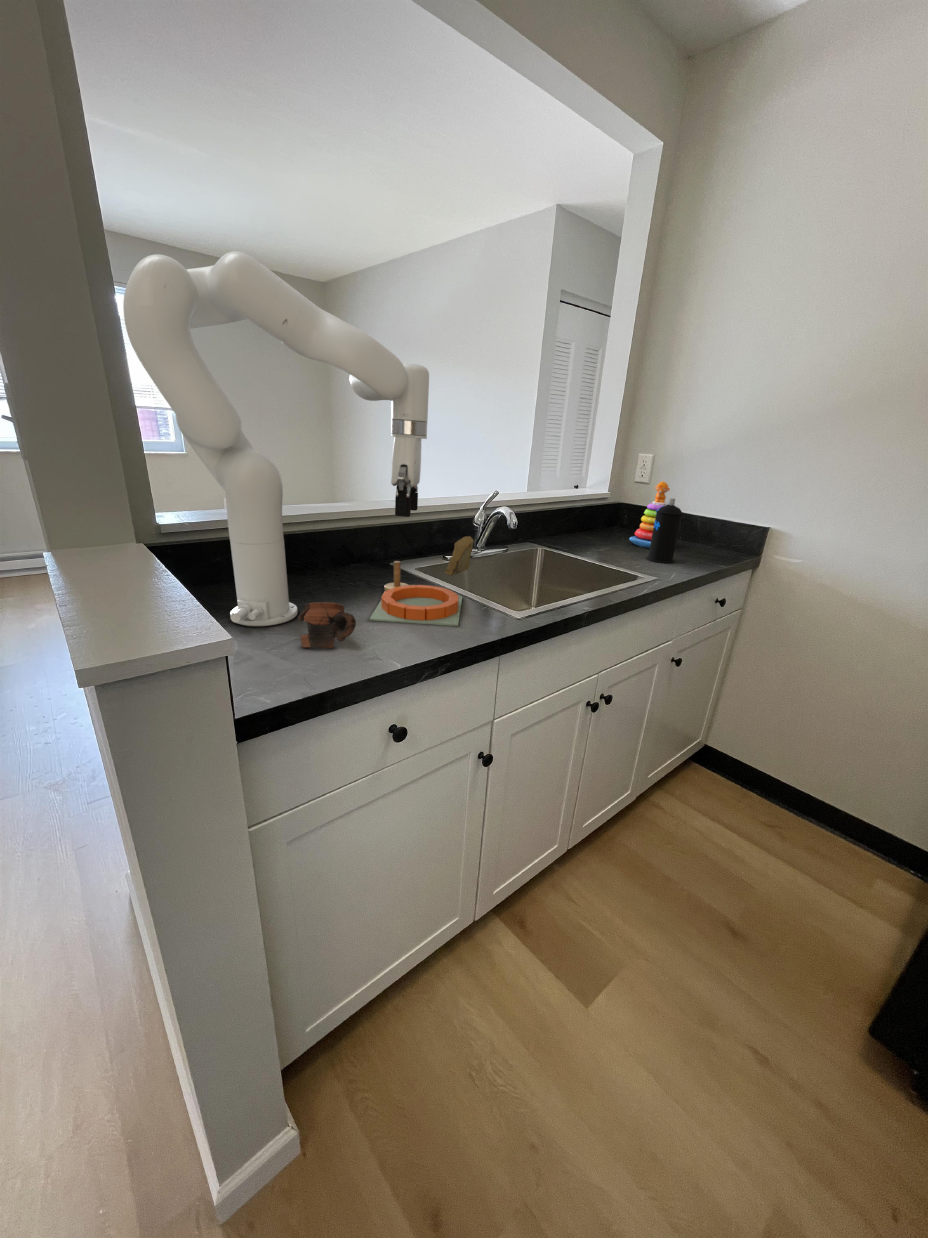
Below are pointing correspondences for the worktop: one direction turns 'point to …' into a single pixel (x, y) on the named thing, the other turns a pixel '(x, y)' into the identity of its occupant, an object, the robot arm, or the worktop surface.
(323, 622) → the pottery mug
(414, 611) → the ring
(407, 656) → the worktop surface
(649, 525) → the stacking toy
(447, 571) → the rock
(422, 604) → the mat
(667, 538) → the aerosol can
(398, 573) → the wooden peg disc
